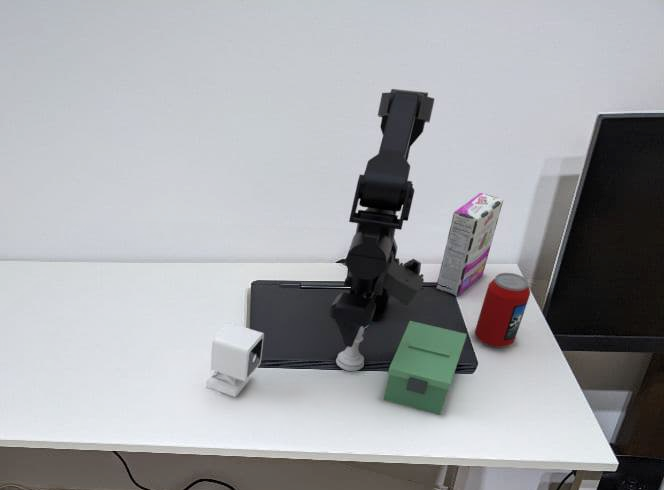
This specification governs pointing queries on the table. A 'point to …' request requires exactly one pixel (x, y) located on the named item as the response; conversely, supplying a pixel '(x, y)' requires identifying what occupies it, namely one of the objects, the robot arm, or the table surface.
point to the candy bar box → (469, 243)
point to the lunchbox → (424, 367)
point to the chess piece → (352, 355)
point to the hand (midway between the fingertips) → (355, 332)
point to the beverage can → (502, 310)
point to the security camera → (234, 358)
